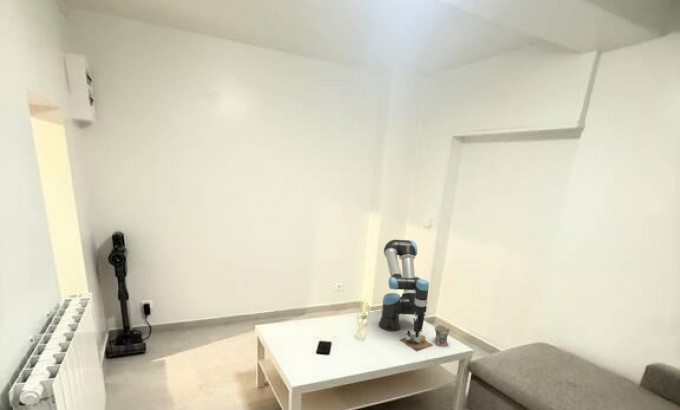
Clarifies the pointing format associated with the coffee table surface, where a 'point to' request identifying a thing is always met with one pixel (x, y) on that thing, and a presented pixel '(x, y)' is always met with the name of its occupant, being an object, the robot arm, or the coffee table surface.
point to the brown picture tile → (417, 345)
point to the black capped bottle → (413, 338)
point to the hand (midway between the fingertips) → (416, 341)
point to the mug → (441, 336)
